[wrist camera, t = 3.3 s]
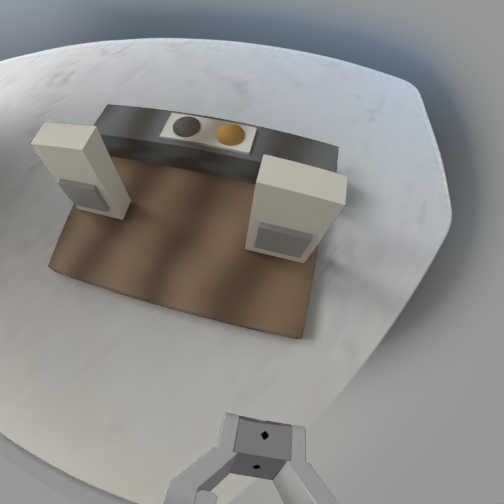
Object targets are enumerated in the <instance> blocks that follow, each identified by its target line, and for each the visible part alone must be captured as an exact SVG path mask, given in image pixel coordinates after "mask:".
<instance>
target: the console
mask: <svg viewBox="0 0 504 504" xmlns="http://www.w3.org/2000/svg"><path fill="white" fill-rule="evenodd" d="M94 126H97V129H98V131H99V133H100V135H101V138H102V140H103V142H104V144H105V147H106V149H107V151H108V153H109V155H110V158H111V160H112V162H113V164H114V166H115V168H116V170H117V172H118V175H119V177H120V179H121V181H122V183H123V185H124V187H125V189H126V191H127V193H128V195H129V197H130V199H131V202H130V204H129V207H128V209H127V212H126V214H125V216H124V219H123V220H121V219H117V218H113V217H109V216H105V215H101V214H96V213H92V212H88V211H84V210H80V209H78V208H77V207H76V205H75V204H74V205H73V207H72V210H71V212H70V214H69V216H68V218H67V221H66V223H65V225H64V228H63V230H62V232H61V235H60V237H59V240H58V242H57V245H56V247H55V250H54V252H53V255H52V257H51V260H50V263H49V266H48V267H49V268H51V269H52V270H54V271H55V272H58V273H60V274H63V275H66V276H69V277H72V278H75V279H78V280H80V281H83V282H86V283H89V284H92V285H95V286H98V287H101V288H104V289H108V290H111V291H114V292H117V293H120V294H123V295H126V296H130V297H133V298H136V299H140V300H143V301H146V302H150V303H153V304H157V305H160V306H163V307H167V308H171V309H174V310H178V311H181V312H185V313H189V314H192V315H196V316H200V317H204V318H208V319H212V320H215V321H219V322H223V323H228V324H232V325H236V326H240V327H244V328H248V329H253V330H257V331H261V332H266V333H270V334H275V335H280V336H284V337H289V338H294V339H299V338H302V333H303V328H304V323H305V318H306V313H307V307H308V302H309V296H310V290H311V285H312V279H313V273H314V267H315V260H316V254H317V248H318V245H317V246H316V247H315V249H314V250H313V251H312V253H311V254H310V256H309V257H308V258H307V260H306V261H305V262H304V263H300V262H296V261H292V260H288V259H284V258H280V257H275V256H271V255H267V254H263V253H259V252H255V251H250V250H246V249H245V245H246V239H247V233H248V227H249V221H250V215H251V209H252V203H253V197H254V191H255V185H256V180H257V177H258V173H259V169H260V166H261V162H262V158H263V154H265V155H270V156H274V157H278V158H282V159H286V160H290V161H294V162H298V163H302V164H306V165H309V166H313V167H317V168H320V169H324V170H328V171H331V172H335V173H336V170H337V160H338V148H339V147H337V146H334V145H330V144H327V143H323V142H320V141H316V140H312V139H309V138H305V137H301V136H297V135H293V134H289V133H285V132H281V131H277V130H272V129H268V128H264V127H259V126H254V125H250V124H245V123H240V122H235V121H230V120H224V119H219V118H213V117H207V116H201V115H195V114H189V113H182V112H175V111H167V110H159V109H151V108H142V107H132V106H120V105H107V106H106V108H105V109H104V111H103V112H102V114H101V115H100V117H99V118H98V120H97V121H96V123H95V124H94Z"/></svg>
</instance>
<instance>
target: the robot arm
mask: <svg viewBox="0 0 504 504" xmlns="http://www.w3.org/2000/svg"><path fill="white" fill-rule="evenodd" d="M229 473H233V474H239V475H246V476H252V477H257V478H263V479H269V480H273V483H274V485H275V487H276V489H277V490H278V492H279V494H280V496H281V498H282V500H283V502H284V504H339V502H338V501H337V500H336V499H335V497H334V496H333V495H332V493H331V492H330V491H329V489H328V488H327V486H326V485H325V484H324V482H323V481H322V480H321V478H320V477H319V476H318V474H317V473H316V471H315V470H314V469H313V467H312V466H311V464H309V463H306V429H305V427H303V426H295V425H291V424H283V423H277V422H270V421H262V420H258V419H253V418H248V417H244V416H239V415H235V414H231V413H227V412H226V413H225V416H224V419H223V423H222V426H221V430H220V433H219V437H218V441H217V446H216V448H212V449H211V450H210V451H209V452H208V453H206V454H205V455H204V456H203V457H201V458H200V459H199V460H197V461H196V462H195V463H194V464H192V465H191V466H190V467H188V468H187V469H186V470H185V471H183V472H182V473H181V474H179V475H178V476H177V477H175V478H174V479H173V480H171V482H170V485H169V488H168V491H167V495H166V498H165V501H164V504H216V503H217V498H218V496H217V495H216V494H215V493H213V492H210V491H211V490H212V489H213V488H214V487H215V486H217V485H218V484H219V483H220V482H221V481H222V480H223V479H224V478H225V477H226V476H227V475H228V474H229ZM0 504H138V503H135V502H132V501H129V500H127V499H124V498H121V497H119V496H116V495H114V494H111V493H109V492H106V491H104V490H102V489H99V488H97V487H95V486H93V485H90V484H88V483H86V482H84V481H82V480H80V479H78V478H76V477H74V476H72V475H70V474H68V473H66V472H64V471H62V470H60V469H58V468H56V467H54V466H53V465H51V464H49V463H47V462H46V461H44V460H42V459H40V458H39V457H37V456H35V455H34V454H32V453H30V452H29V451H27V450H26V449H24V448H22V447H21V446H19V445H18V444H16V443H15V442H13V441H12V440H10V439H9V438H7V437H6V436H4V435H3V434H2V433H0Z"/></svg>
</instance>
